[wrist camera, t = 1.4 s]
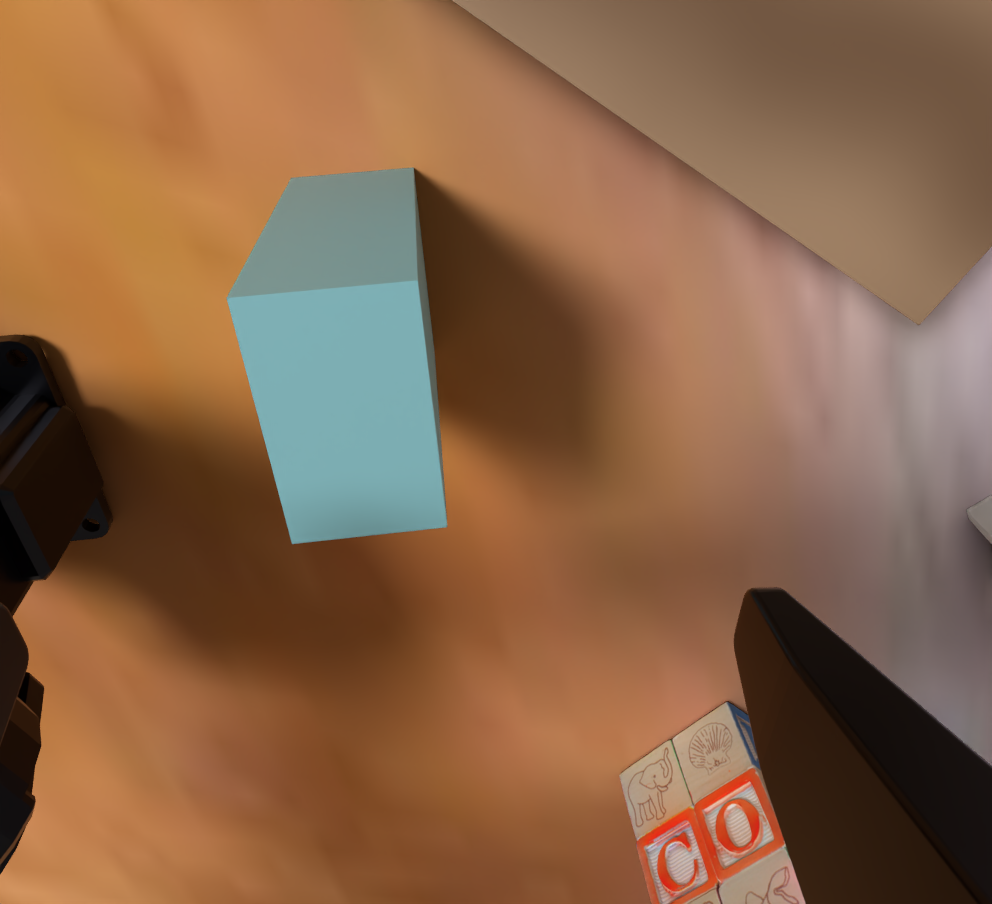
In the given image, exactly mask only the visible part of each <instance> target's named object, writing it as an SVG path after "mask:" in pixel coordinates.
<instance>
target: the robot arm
mask: <svg viewBox="0 0 992 904" xmlns="http://www.w3.org/2000/svg"><path fill="white" fill-rule="evenodd" d="M13 350H19V351H21V352H22V353H24V354H25V355H26V357H27V360H28V361H23V360H20V359H19V358H17V357H16V356H15V355H14V353H13ZM102 486H103V479H102V477H101V474H100V472H99V470H98V467H97V465H96V462H95V460H94V458H93V455H92V453H91V450H90V448H89V446H88V443H87V441H86V438H85V436H84V434H83V431H82V429H81V426H80V424H79V422H78V419H77V417H76V414H75V413H74V412H73V411H72V410H71V409H70V408H69V407H67V406H66V404H65V402H64V399H63V397H62V395H61V392H60V390H59V388H58V385H57V383H56V380H55V378H54V376H53V373H52V371H51V369H50V366H49V364H48V361H47V359H46V357H45V354H44V352H43V350H42V348H41V347H40V345H39V344H38V343H37V342H36V341H34V340H33V339H32V338H29V337H27V336H24V335H7V336H0V874H1V873H2V871H3V869H4V868H5V866H6V865H7V863H8V861H9V860H10V858H11V856H12V855H13V853H14V852H15V850H16V848H17V846H18V844H19V841H20V839H21V837H22V835H23V832H24V830H25V828H26V826H27V824H28V822H29V820H30V819H31V817H32V814H33V810H34V806H35V802H36V801H35V796H33V795H32V787H33V779H34V770H35V764H36V761H37V758H38V755H39V752H40V748H41V735H40V719H41V711H42V702H43V694H44V686H43V685H42V684H41V683H40V682H39V681H38V680H37V679H35V678H34V677H33V676H32V675H31V674H30V673H28V672H26V670H27V666H28V660H29V655H28V648H27V645H26V643H25V641H24V639H23V637H22V635H21V633H20V631H19V629H18V627H17V625H16V623H15V621H14V619H13V615H14V613H15V612H16V610H17V608H18V607H19V605H20V603H21V602H22V600H23V598H24V597H25V595H26V594H27V592H28V590H29V589H30V587H31V585H32V584H33V582H34V581H38V580H46V579H47V578H48V577H49V576H50V574H51V573H52V572H53V570H54V569H55V567H56V565H57V563H58V562H59V560H60V558H61V557H62V555H63V553H64V551H65V550H66V548H67V546H68V545H69V543H70V541H76V540H85V539H94V538H99V537H103V536H104V535H105V534H107V532H108V530H109V528H110V526H111V524H112V522H113V517H112V514H111V511H110V509H109V506H108V504H107V502H106V499H105V497H104V495H103V492H102V490H101V488H102ZM87 518H89V519H94V520H96V521H97V522H98V523H99V524H95V523H92V522H90V521H89V520H88V519H87ZM734 650H735V656H736V660H737V665H738V670H739V674H740V679H741V683H742V688H743V693H744V697H745V702H746V707H747V711H748V716H749V720H750V725H751V730H752V734H753V739H754V743H755V748H756V752H757V757H758V761H759V765H760V769H761V772H762V775H763V779H764V782H765V785H766V788H767V791H768V794H769V797H770V800H771V803H772V806H773V809H774V812H775V815H776V818H777V821H778V824H779V827H780V830H781V833H782V836H783V839H784V842H785V845H786V848H787V851H788V854H789V857H790V860H791V862H792V865H793V868H794V871H795V874H796V877H797V880H798V883H799V886H800V889H801V892H802V895H803V898H804V901H805V904H992V766H991V765H990V764H989V763H988V762H986V761H985V760H984V759H983V758H982V757H980V756H979V755H978V754H977V753H976V752H975V751H973V750H972V749H971V748H970V747H969V746H968V745H966V744H965V743H964V742H963V741H962V740H960V739H959V738H958V737H957V736H956V735H955V734H953V733H952V732H951V731H950V730H949V729H948V728H946V727H945V726H944V725H943V724H942V723H940V722H939V721H938V720H937V719H936V718H935V717H933V716H932V715H931V714H930V713H929V712H928V711H926V710H925V709H924V708H923V707H922V706H921V705H919V704H918V703H917V702H916V701H915V700H913V699H912V698H911V697H910V696H909V695H908V694H906V693H905V692H904V691H903V690H902V689H901V688H899V687H898V686H897V685H896V684H895V683H893V682H892V681H891V680H890V679H889V678H888V677H886V676H885V675H884V674H883V673H882V672H881V671H879V670H878V669H877V668H876V667H875V666H874V665H872V664H871V663H870V662H869V661H868V660H866V659H865V658H864V657H863V656H862V655H861V654H859V653H858V652H857V651H856V650H855V649H854V648H852V647H851V646H850V645H849V644H848V643H846V642H845V641H844V640H843V639H842V638H841V637H839V636H838V635H837V634H836V633H835V632H834V631H832V630H831V629H830V628H829V627H828V626H826V625H825V624H824V623H823V622H822V621H821V620H819V619H818V618H817V617H816V616H815V615H814V614H812V613H811V612H810V611H809V610H808V609H807V608H805V607H804V606H803V605H802V604H801V603H799V602H798V601H797V600H796V599H795V598H794V597H792V596H791V595H790V594H789V593H788V592H786V591H785V590H783V589H781V588H777V587H772V588H751V589H749V590H747V592H746V593H745V595H744V598H743V602H742V606H741V610H740V614H739V618H738V622H737V626H736V630H735V634H734Z"/></svg>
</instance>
